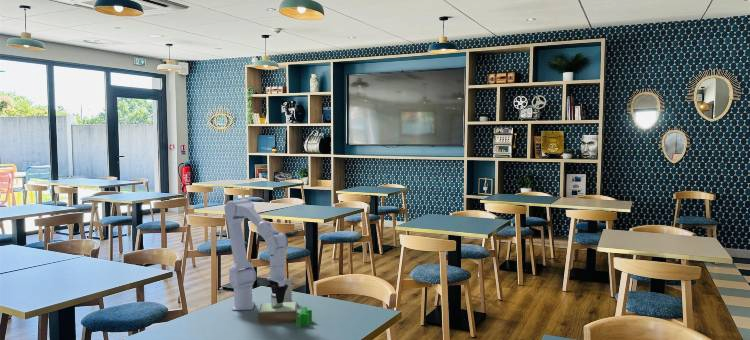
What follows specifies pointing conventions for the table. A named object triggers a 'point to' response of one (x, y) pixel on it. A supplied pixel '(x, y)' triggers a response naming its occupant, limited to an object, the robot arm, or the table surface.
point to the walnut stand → (278, 313)
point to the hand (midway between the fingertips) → (278, 300)
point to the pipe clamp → (304, 317)
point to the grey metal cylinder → (275, 302)
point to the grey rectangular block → (288, 291)
